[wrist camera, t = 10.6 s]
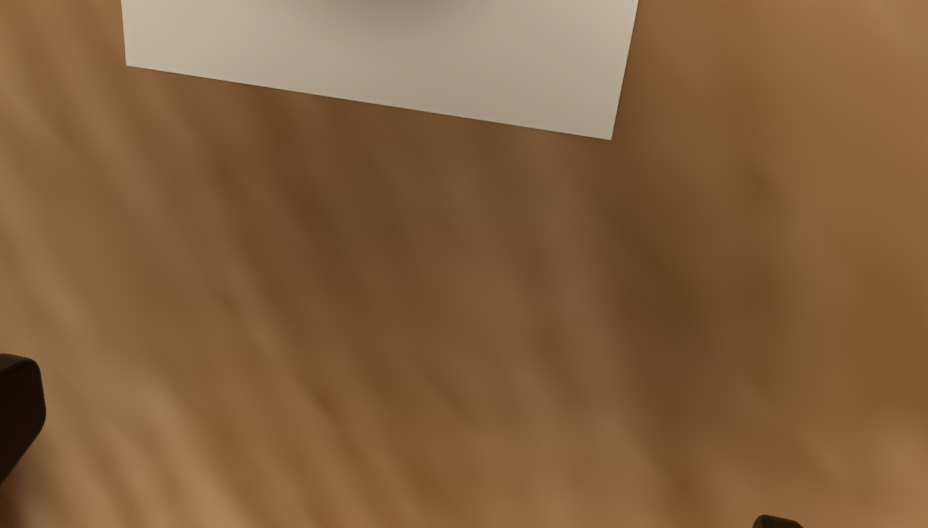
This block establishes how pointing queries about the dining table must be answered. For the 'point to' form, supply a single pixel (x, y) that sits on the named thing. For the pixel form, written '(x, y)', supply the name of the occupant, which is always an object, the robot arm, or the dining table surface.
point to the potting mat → (405, 53)
